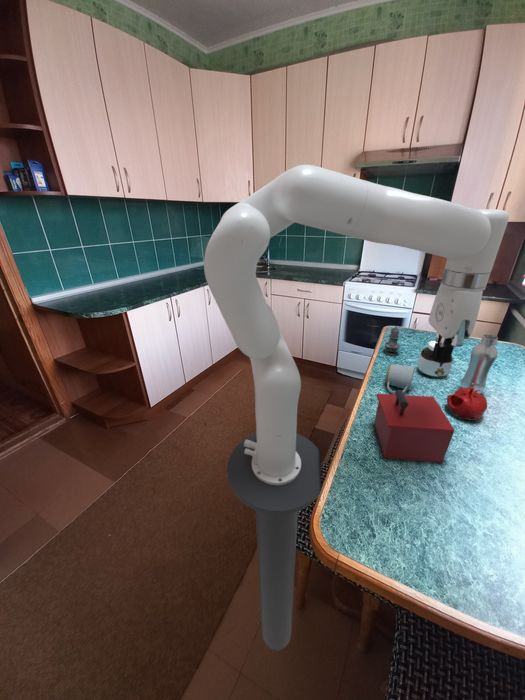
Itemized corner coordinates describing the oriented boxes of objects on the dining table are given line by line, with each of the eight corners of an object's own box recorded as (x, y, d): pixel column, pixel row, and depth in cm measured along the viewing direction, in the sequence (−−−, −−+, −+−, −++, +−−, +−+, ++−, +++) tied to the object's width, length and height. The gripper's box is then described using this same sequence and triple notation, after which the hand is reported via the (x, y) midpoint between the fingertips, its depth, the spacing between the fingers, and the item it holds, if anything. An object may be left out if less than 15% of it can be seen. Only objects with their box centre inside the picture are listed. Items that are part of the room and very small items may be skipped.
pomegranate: (480, 407, 89) (491, 382, 84) (485, 428, 81) (496, 401, 77) (443, 398, 93) (451, 374, 89) (444, 417, 85) (453, 391, 81)
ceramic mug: (386, 376, 105) (390, 358, 101) (411, 382, 101) (416, 363, 97) (381, 392, 97) (385, 373, 93) (408, 399, 93) (413, 379, 89)
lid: (387, 427, 68) (391, 411, 66) (376, 395, 79) (379, 380, 77) (453, 432, 66) (460, 415, 64) (432, 399, 77) (437, 383, 75)
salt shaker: (399, 356, 118) (405, 329, 112) (383, 355, 119) (388, 328, 114) (397, 350, 123) (403, 324, 117) (382, 348, 124) (387, 322, 119)
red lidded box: (384, 457, 72) (391, 428, 68) (374, 423, 84) (379, 396, 79) (442, 463, 71) (453, 432, 66) (424, 427, 82) (432, 399, 77)
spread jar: (418, 376, 104) (425, 348, 99) (413, 361, 114) (420, 334, 109) (455, 381, 101) (465, 352, 96) (447, 365, 111) (456, 338, 106)
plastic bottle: (486, 398, 93) (509, 342, 83) (463, 396, 94) (483, 341, 84) (476, 386, 98) (497, 333, 89) (454, 385, 99) (473, 332, 90)
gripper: (429, 270, 64) (411, 345, 72) (461, 289, 51) (434, 377, 59) (466, 270, 63) (444, 346, 71) (508, 290, 50) (474, 379, 58)
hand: (439, 360), depth 65 cm, fingers closed
